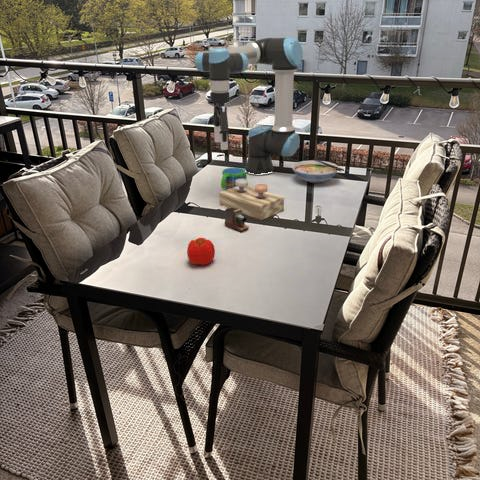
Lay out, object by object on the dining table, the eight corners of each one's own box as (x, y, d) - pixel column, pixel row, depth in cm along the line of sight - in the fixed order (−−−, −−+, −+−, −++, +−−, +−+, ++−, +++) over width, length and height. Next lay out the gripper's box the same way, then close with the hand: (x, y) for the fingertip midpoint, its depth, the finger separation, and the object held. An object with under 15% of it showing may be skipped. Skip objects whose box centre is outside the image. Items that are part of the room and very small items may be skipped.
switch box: (242, 197, 208) (242, 184, 205) (283, 210, 192) (284, 197, 190) (219, 205, 199) (219, 192, 196) (261, 220, 183) (261, 206, 181)
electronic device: (241, 233, 172) (241, 214, 169) (223, 226, 179) (223, 208, 176) (249, 229, 175) (249, 211, 172) (232, 223, 181) (231, 205, 178)
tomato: (200, 253, 158) (199, 233, 154) (220, 260, 153) (219, 240, 149) (181, 263, 151) (179, 242, 148) (200, 271, 146) (199, 250, 143)
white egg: (241, 192, 200) (241, 177, 198) (250, 194, 197) (250, 180, 194) (233, 195, 197) (232, 180, 194) (241, 197, 194) (241, 183, 191)
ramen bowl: (281, 177, 234) (282, 161, 230) (319, 171, 242) (320, 156, 239) (308, 192, 213) (309, 175, 210) (348, 185, 222) (350, 168, 218)
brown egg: (260, 198, 193) (260, 183, 191) (269, 200, 190) (270, 185, 187) (252, 201, 190) (252, 186, 187) (261, 204, 187) (261, 189, 184)
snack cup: (238, 185, 223) (238, 164, 219) (254, 190, 216) (254, 169, 212) (214, 193, 213) (213, 171, 209) (229, 198, 206) (229, 176, 202)
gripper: (205, 88, 190) (207, 139, 199) (216, 96, 168) (217, 153, 177) (223, 87, 192) (224, 138, 200) (236, 95, 169) (236, 152, 178)
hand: (221, 145), depth 189 cm, fingers open, 13 cm apart
